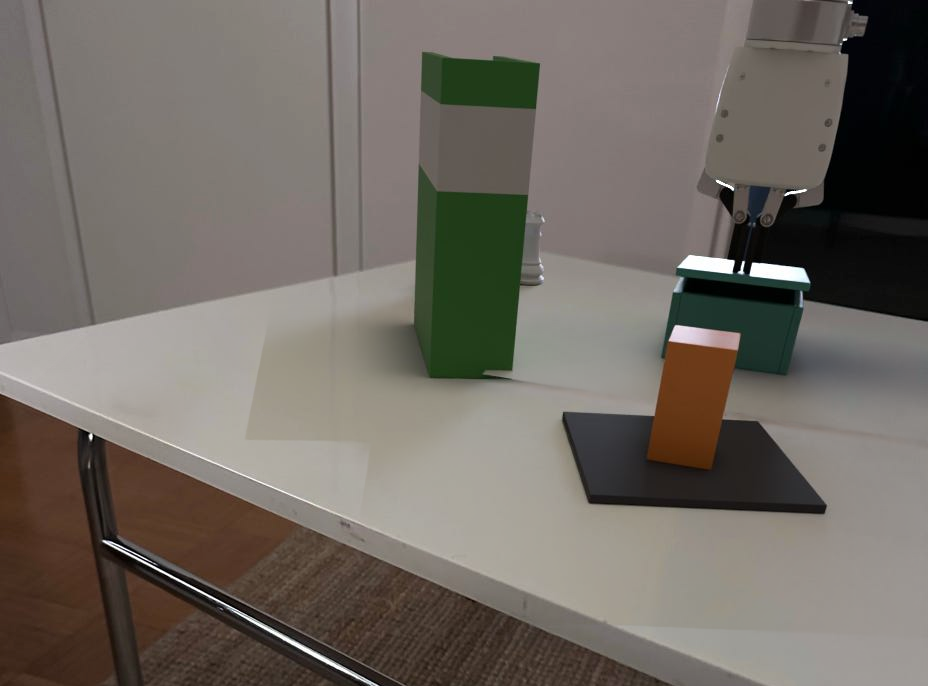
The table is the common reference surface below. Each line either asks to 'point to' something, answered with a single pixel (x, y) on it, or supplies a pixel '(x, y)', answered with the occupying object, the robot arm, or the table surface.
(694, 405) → the carton
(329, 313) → the table surface
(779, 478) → the mat
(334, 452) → the table surface
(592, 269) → the table surface
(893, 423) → the table surface
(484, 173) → the green and white box
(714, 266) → the lunchbox lid
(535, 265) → the rook chess piece
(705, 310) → the lunchbox
